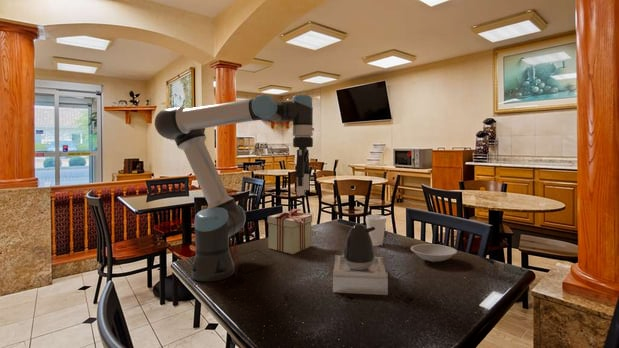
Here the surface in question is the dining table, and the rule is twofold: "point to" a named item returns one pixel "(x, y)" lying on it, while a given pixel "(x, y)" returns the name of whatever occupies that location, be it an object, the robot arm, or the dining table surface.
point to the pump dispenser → (359, 248)
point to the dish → (433, 252)
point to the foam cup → (376, 228)
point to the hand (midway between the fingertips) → (303, 192)
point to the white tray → (360, 278)
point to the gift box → (289, 231)
